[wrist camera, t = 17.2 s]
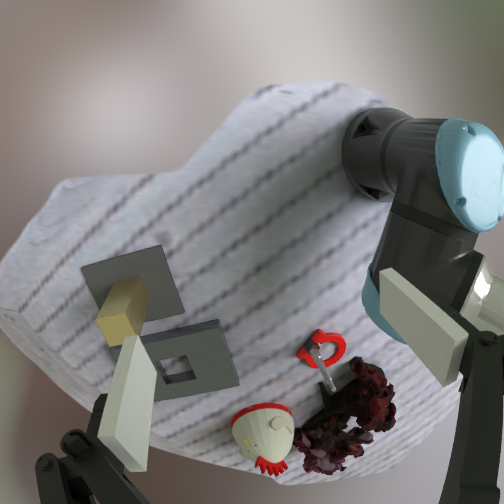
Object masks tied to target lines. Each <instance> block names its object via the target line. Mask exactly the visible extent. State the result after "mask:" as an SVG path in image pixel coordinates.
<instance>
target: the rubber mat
mask: <svg viewBox="0 0 504 504" xmlns="http://www.w3.org/2000/svg"><path fill="white" fill-rule="evenodd" d="M81 269H82V271H83V273H84V276H85V278H86V281H87V283H88V285H89V287H90V290H91V292H92V294H93V296H94V299H95V301H96V303H97V305H98V307H99V309H100V310H101V308H102V306H103V304H104V302H105V300H106V298H107V296H108V294H109V292H110V290H111V288H112V287H113V285H114V283H115V282H118V281H122V280H125V279H129V278H133V277H137V276H140V277H141V280H142V282H143V285H144V287H145V290H146V292H147V295H148V297H149V300H150V301H149V305H148V308H147V312H146V315H145V319H144V322H148V321H153V320H157V319H162V318H166V317H170V316H175V315H179V314H183V313H184V312H185V311H184V308H183V306H182V303H181V300H180V298H179V295H178V292H177V289H176V287H175V284H174V281H173V278H172V275H171V272H170V269H169V267H168V264H167V261H166V258H165V255H164V252H163V249H162V246H161V245H158V246H154V247H150V248H147V249H143V250H140V251H136V252H132V253H129V254H125V255H122V256H118V257H115V258H111V259H108V260H104V261H101V262H97V263H94V264H90V265H87V266H83V267H82V268H81Z"/></svg>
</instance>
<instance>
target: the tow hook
mask: <svg viewBox="0 0 504 504" xmlns="http://www.w3.org/2000/svg"><path fill="white" fill-rule="evenodd" d="M329 341H332V342H336V343H337V344H338V349H337V351H336V353H335V354H334V355H333V356H332V357H331V358H329V359H327V360H324V361H323V360H322V357H321V355H320V353H319V351H318V350H319V349H320V347H319V345H318V343H320V344H323V343H325V342H329ZM317 342H318V343H317ZM345 349H346V343H345V340H344V339H343V337H342V336H341V335H338V334H335V333H329V334H325V333H324V332H323V331H322V330H320V329H319V330H318V331H317V332H316V333H315V334H314V335H313V336H312V337H311V338H310V339H309V340H308V341H307V342H306V343H305V344H304V346H303V347H302V349H301V350H300V351H299V352H298V353H297V354H296V355H297V357H298V358H300V359H302V358H304V359H305V360H306V362H307V364H308V365H309V366H311V367H313V368H319V370H320V372H321V373H322V375H323V377H324V379H325V381H326V383H327V384H329V386H330V388H331V390H332V391H333V392H334V391H336V387H335V386H334V384H333V382H332V381H333V379H332V377H331V375H330V373H329V372H328V370H327V368H326V367H328V366H331V365H332V364H334V363H336V362H337V361H338V360H339V359H340V358H341V357H342V356H343V354H344V352H345Z"/></svg>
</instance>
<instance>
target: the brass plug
mask: <svg viewBox="0 0 504 504" xmlns="http://www.w3.org/2000/svg"><path fill="white" fill-rule="evenodd" d="M149 301H150V300H149V297H148V295H147V292H146V290H145V287H144V285H143V282H142V280H141V277H140V276H137V277H133V278H129V279H125V280H122V281H118V282H115V283H114V285H113V287H112V288H111V290H110V292H109V294H108V296H107V298H106V300H105V302H104V304H103V306H102V308H101V310H100V311H99V313H98V315H97V317H96V319H95V320H96V322H97V324H98V326H99V328H100V330H101V332H102V334H103V335H104V337H105V339H106V341H107V343H108V345H109V347H111V346H117V345H122V344H123V342H124V339H125V337H129V336H134V335H138V336H139V338H140V334H141V330H142V326H143V323H144V319H145V315H146V312H147V308H148V305H149Z"/></svg>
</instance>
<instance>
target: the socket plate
mask: <svg viewBox="0 0 504 504" xmlns="http://www.w3.org/2000/svg"><path fill="white" fill-rule="evenodd" d="M140 340H141V342H142V344H143V346H144V348H145V350H146V352H147V354H148V356H149V358H150V360H151V362H152V364H153V366H154V368H155V370H156V371H157V377H156V384H155V392H154V400H153V402H156V401H162V400H168V399H174V398H180V397H186V396H191V395H197V394H202V393H207V392H212V391H217V390H221V389H226V388H231V387H235V386H239V385H240V384H239V378H238V374H237V372H236V369H235V366H234V363H233V360H232V357H231V354H230V352H229V349H228V346H227V343H226V340H225V337H224V334H223V331H222V328H221V325H220V322H219V319H217V320H213V321H209V322H204V323H200V324H196V325H192V326H187V327H183V328H178V329H174V330H169V331H165V332H160V333H156V334H151V335H146V336H141V337H140ZM122 345H123V344H122ZM122 345H117V346H111V348H110V352H111V354H112V356H113V358H114V360H115V361H116V363H117V362H118V358H119V355H120V352H121V349H122ZM184 355H186V356H187V358H188V360H189V363H190V365H191V367H192V369H193V371H190V372H185V373H180V374H174V375H169V376H167V375H166V373H165V371H164V369H163V367H162V365H161V363H160V361H159V360H164V359H169V358H174V357H179V356H184Z"/></svg>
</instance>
